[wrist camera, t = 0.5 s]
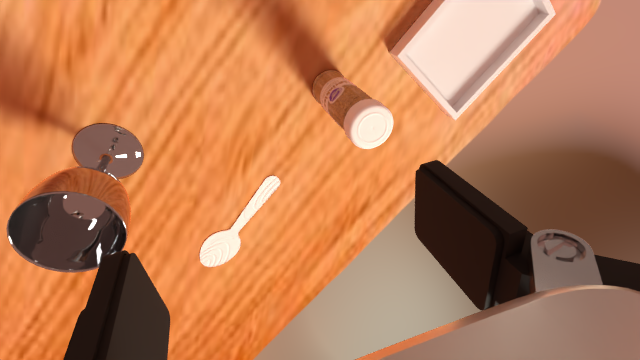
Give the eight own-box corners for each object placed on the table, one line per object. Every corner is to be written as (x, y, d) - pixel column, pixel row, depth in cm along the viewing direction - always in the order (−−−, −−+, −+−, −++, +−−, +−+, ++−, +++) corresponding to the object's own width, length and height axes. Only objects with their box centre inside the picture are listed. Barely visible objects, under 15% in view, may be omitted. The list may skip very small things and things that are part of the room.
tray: (497, -77, 39) (511, -79, 38) (542, 12, 47) (556, 13, 45) (389, 52, 43) (397, 56, 42) (446, 114, 51) (455, 120, 49)
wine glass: (133, 191, 43) (108, 280, 31) (58, 168, 39) (-6, 260, 27) (158, 137, 40) (141, 211, 28) (80, 107, 36) (21, 178, 24)
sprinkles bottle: (321, 63, 42) (365, 97, 31) (351, 78, 44) (403, 115, 33) (305, 97, 43) (341, 142, 32) (335, 110, 45) (379, 156, 34)
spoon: (291, 183, 49) (292, 185, 49) (221, 269, 54) (221, 272, 53) (260, 166, 47) (261, 168, 46) (189, 258, 51) (189, 261, 50)
